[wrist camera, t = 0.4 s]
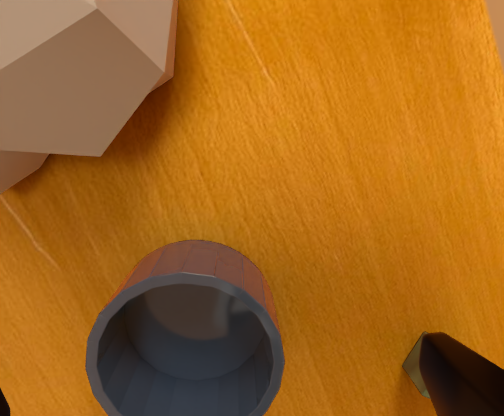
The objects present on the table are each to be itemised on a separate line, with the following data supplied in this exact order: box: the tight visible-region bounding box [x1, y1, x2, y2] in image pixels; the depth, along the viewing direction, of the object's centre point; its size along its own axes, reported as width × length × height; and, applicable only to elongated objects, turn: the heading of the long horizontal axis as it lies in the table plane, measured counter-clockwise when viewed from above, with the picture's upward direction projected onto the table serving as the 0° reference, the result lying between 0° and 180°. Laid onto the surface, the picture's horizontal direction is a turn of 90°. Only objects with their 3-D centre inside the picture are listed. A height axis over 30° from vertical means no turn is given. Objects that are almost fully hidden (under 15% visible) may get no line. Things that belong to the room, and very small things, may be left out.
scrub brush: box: [402, 332, 431, 399], centre depth 22 cm, size 3×3×10 cm
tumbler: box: [85, 240, 285, 416], centre depth 22 cm, size 10×10×6 cm
